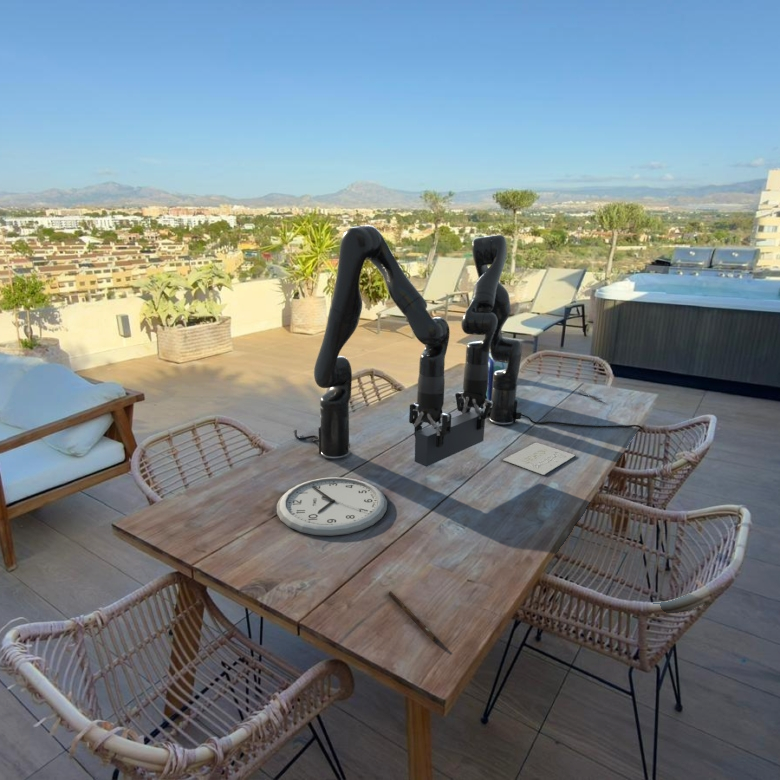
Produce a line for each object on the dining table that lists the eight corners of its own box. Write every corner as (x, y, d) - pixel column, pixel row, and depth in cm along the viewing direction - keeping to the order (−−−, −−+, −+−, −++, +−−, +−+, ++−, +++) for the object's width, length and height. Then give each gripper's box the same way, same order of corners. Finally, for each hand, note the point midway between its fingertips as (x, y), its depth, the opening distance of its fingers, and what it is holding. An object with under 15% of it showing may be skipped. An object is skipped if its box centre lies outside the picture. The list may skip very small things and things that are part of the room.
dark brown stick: (388, 595, 108) (388, 591, 108) (390, 594, 108) (390, 590, 108) (433, 641, 96) (433, 637, 96) (435, 640, 96) (435, 636, 96)
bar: (471, 436, 172) (473, 409, 169) (483, 441, 169) (485, 413, 166) (414, 461, 154) (415, 431, 151) (426, 466, 150) (427, 436, 148)
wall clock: (392, 527, 129) (268, 531, 127) (391, 533, 130) (269, 537, 127) (383, 473, 158) (282, 475, 155) (383, 478, 158) (282, 480, 156)
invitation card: (535, 442, 186) (575, 454, 176) (535, 442, 187) (575, 455, 176) (502, 459, 172) (543, 474, 162) (502, 460, 172) (543, 475, 162)
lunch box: (475, 390, 246) (478, 346, 240) (498, 390, 246) (501, 347, 240) (484, 408, 221) (487, 360, 215) (509, 409, 221) (513, 360, 215)
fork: (599, 403, 231) (599, 398, 230) (577, 392, 245) (578, 388, 245) (604, 402, 231) (604, 398, 231) (582, 392, 246) (583, 387, 245)
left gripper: (403, 385, 150) (402, 438, 155) (441, 397, 140) (438, 453, 145) (421, 381, 155) (419, 432, 160) (459, 392, 145) (456, 446, 150)
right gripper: (450, 373, 164) (447, 424, 169) (487, 383, 154) (484, 436, 159) (465, 369, 169) (462, 418, 174) (502, 378, 159) (498, 430, 165)
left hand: (428, 442), depth 152 cm, fingers open, 7 cm apart
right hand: (472, 427), depth 167 cm, fingers closed on bar, 4 cm apart
